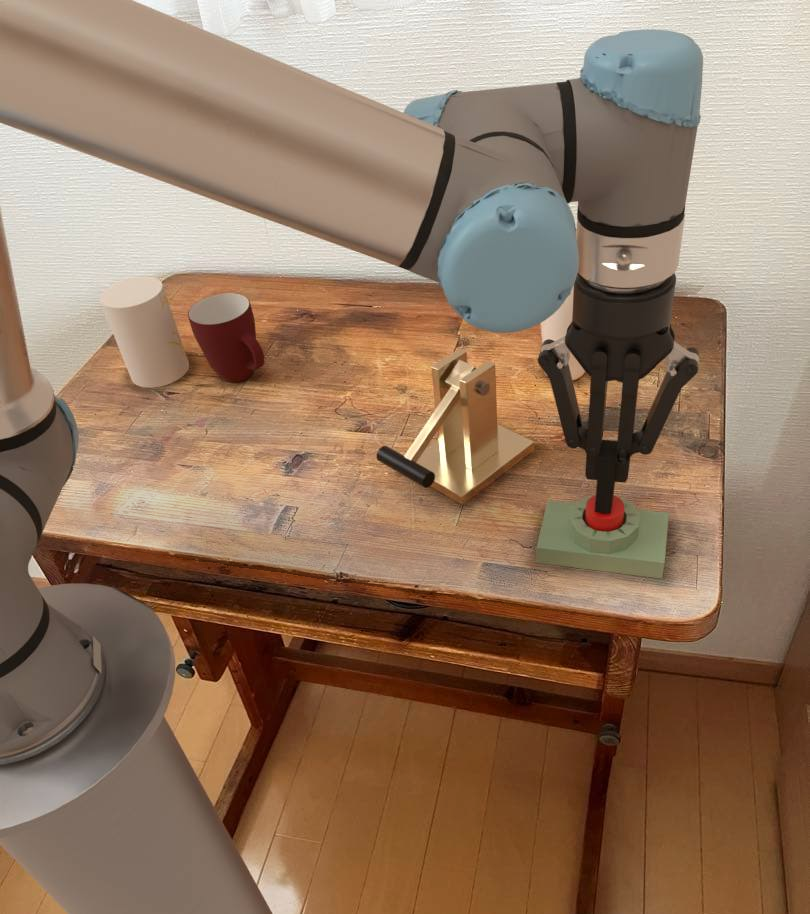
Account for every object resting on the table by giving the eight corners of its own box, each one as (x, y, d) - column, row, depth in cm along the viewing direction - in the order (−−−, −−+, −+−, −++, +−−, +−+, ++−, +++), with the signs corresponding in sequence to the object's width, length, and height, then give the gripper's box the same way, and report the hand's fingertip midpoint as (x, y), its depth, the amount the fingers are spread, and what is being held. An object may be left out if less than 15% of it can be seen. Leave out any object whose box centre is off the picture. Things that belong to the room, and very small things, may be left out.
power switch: (462, 505, 89) (454, 408, 80) (404, 471, 94) (391, 376, 86) (534, 450, 95) (534, 353, 86) (475, 421, 100) (470, 326, 91)
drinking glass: (528, 365, 107) (528, 254, 97) (576, 352, 108) (581, 241, 98) (550, 392, 102) (553, 279, 92) (601, 378, 103) (609, 265, 93)
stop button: (582, 529, 80) (583, 516, 79) (587, 504, 82) (588, 491, 81) (621, 534, 79) (622, 520, 78) (625, 508, 81) (626, 495, 80)
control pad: (536, 563, 82) (536, 534, 79) (547, 515, 87) (547, 486, 84) (662, 578, 79) (666, 549, 76) (666, 528, 84) (671, 498, 81)
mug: (293, 371, 112) (277, 303, 105) (254, 402, 108) (234, 334, 101) (236, 353, 117) (217, 287, 110) (196, 382, 113) (174, 316, 106)
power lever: (429, 492, 86) (418, 482, 84) (383, 464, 90) (372, 455, 88) (501, 385, 86) (492, 374, 84) (452, 363, 90) (442, 351, 88)
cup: (197, 372, 114) (171, 292, 106) (142, 394, 112) (110, 314, 103) (177, 348, 120) (150, 270, 111) (123, 369, 117) (92, 291, 109)
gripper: (530, 292, 62) (529, 522, 78) (715, 300, 58) (673, 539, 75) (546, 245, 67) (542, 471, 83) (717, 250, 63) (677, 484, 80)
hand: (604, 503), depth 79 cm, fingers closed
